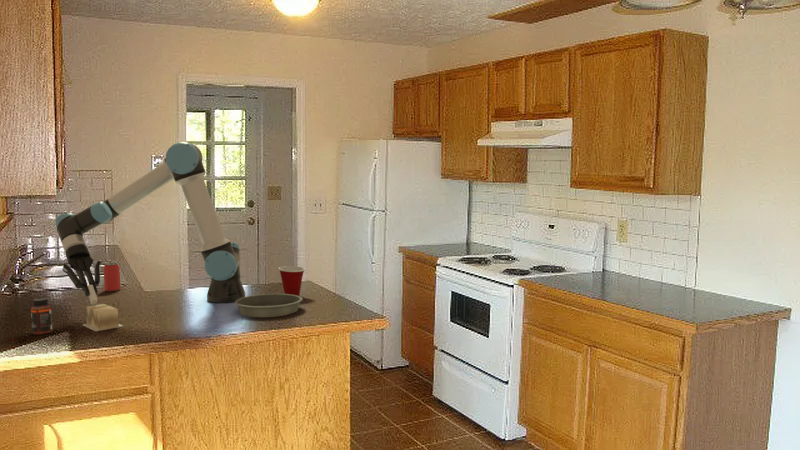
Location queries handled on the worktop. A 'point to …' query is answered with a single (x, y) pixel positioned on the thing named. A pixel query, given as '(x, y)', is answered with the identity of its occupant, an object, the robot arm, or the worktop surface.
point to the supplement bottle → (41, 317)
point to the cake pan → (259, 308)
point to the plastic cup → (291, 279)
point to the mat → (97, 328)
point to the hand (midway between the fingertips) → (94, 302)
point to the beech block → (102, 316)
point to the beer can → (111, 277)
